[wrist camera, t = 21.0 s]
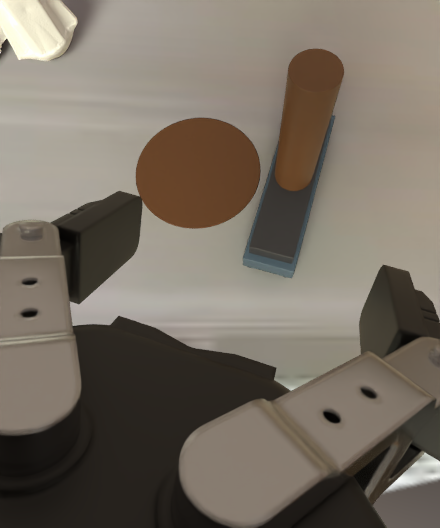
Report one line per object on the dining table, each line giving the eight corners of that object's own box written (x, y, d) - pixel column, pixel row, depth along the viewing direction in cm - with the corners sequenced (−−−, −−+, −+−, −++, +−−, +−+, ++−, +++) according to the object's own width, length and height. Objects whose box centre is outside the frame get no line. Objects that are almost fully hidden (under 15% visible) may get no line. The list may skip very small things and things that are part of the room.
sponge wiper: (242, 267, 30) (241, 178, 17) (286, 122, 33) (310, -34, 21) (291, 280, 29) (323, 198, 17) (330, 131, 33) (379, -23, 21)
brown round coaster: (117, 150, 33) (117, 149, 33) (225, 101, 34) (225, 100, 34) (166, 250, 30) (166, 249, 30) (283, 194, 31) (283, 193, 31)
